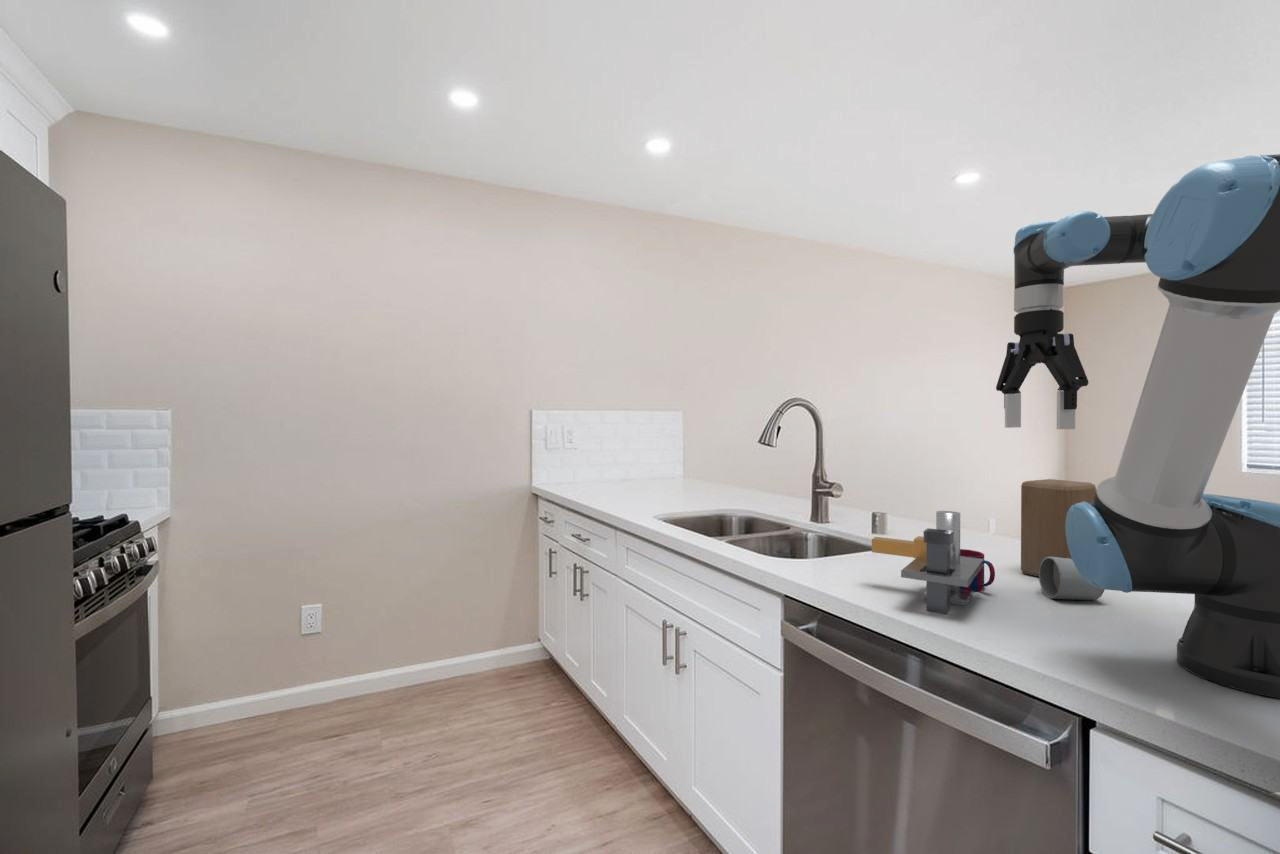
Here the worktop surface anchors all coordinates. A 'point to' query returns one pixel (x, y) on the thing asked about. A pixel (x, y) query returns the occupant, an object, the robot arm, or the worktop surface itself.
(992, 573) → the cup
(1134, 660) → the worktop surface
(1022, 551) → the block
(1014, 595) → the worktop surface
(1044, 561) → the grey cylinder
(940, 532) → the wedge pin
